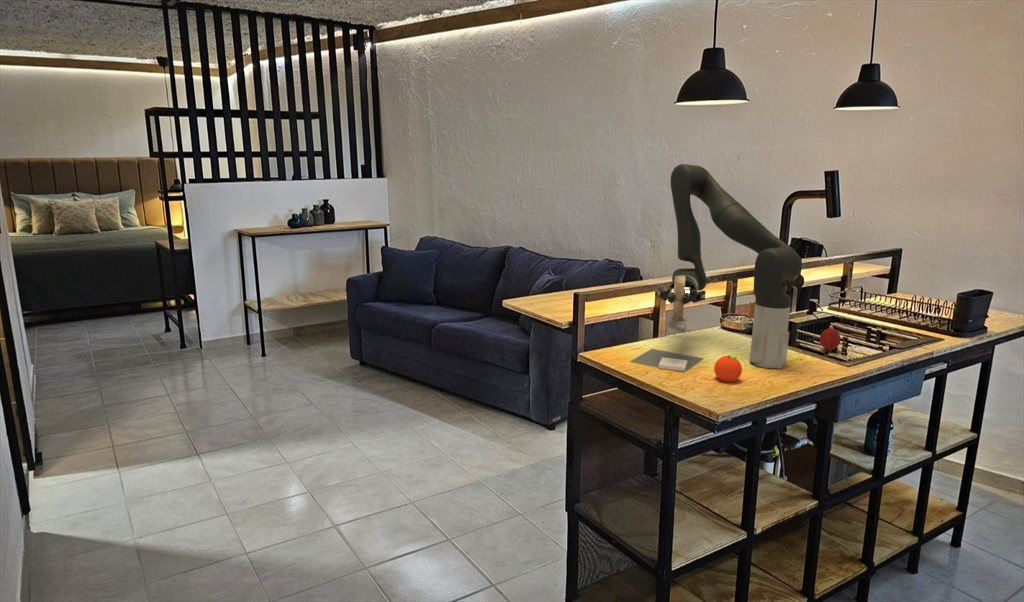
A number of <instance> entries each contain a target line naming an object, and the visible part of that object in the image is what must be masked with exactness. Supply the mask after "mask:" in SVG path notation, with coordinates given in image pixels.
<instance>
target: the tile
mask: <svg viewBox="0 0 1024 602" xmlns="http://www.w3.org/2000/svg"><path fill="white" fill-rule="evenodd" d="M686 366H687V360H681V359H672V358H663V357H662V359H661V361H660V363H659V368H658V369H659V370H666V371H672V370H673V371H672V372H676V371H682V372H685V370H686ZM685 373H686V372H685Z"/></svg>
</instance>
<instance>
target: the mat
mask: <svg viewBox="0 0 1024 602" xmlns="http://www.w3.org/2000/svg"><path fill="white" fill-rule="evenodd" d="M662 357H663V358H672V359H681V360H687V366H686V370H685V372H682V371H675V372H677V373H683V374H685V373H686V372H687V371H689V370H690V369H692V368H693V367H694V366H696V365H697V364H699V363H700V362H701V361H703V360H704V359H705V358H703V357H699V356H698V357H697V356H694V355H687V354H682V353H678V352H677V353H676V352H671V351H667V350H661V349H660V350H659V349H656V348H650V349H649V350H647V351H645V352H644V353H641V354H640V355H639V356H636V357H635V358H633V359H632V360H630V361H629V362H630V363H633V364H637V365H643V366H647V367H653V368H658V369H659V363H660V361H661V359H662ZM671 371H672V372H674V371H673V370H671Z"/></svg>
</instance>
